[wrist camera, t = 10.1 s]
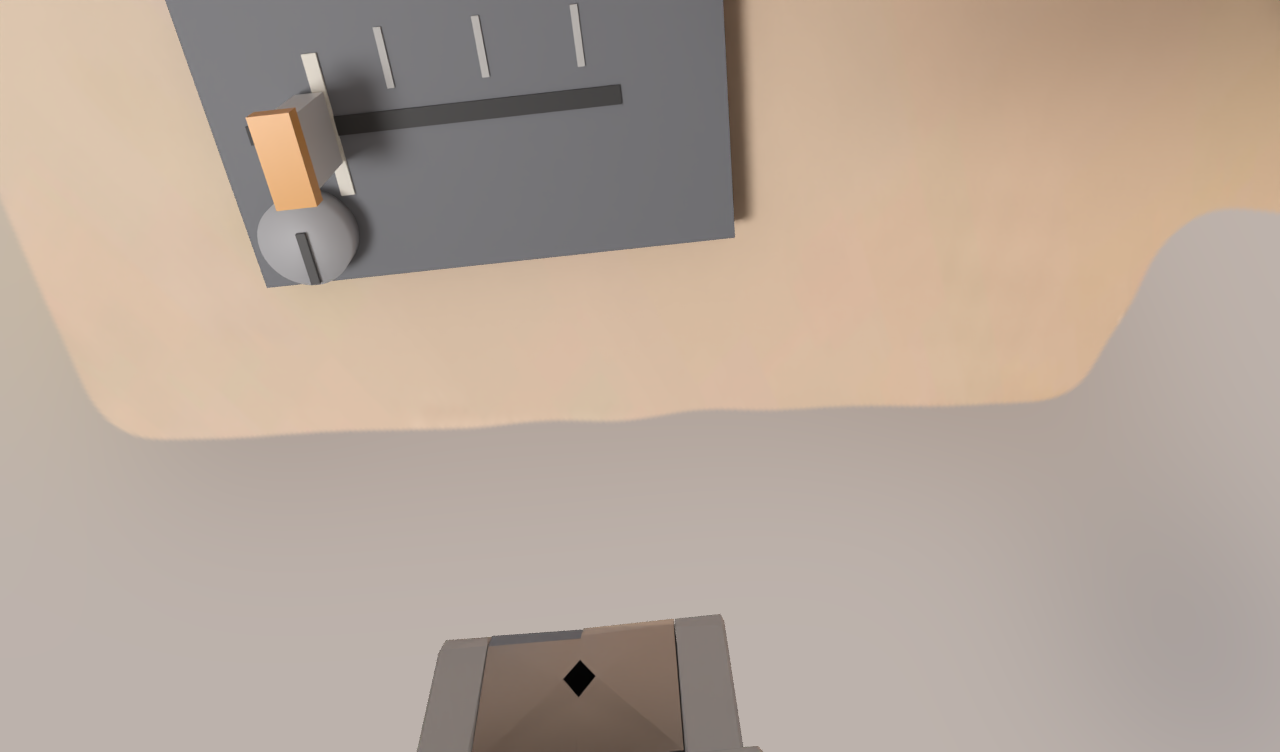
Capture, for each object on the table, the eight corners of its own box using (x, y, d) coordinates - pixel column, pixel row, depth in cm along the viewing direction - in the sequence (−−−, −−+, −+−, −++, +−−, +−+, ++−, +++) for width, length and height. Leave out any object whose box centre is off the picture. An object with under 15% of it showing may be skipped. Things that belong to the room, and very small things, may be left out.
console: (712, -109, 35) (722, -106, 32) (729, 222, 42) (739, 251, 39) (173, -45, 35) (130, -36, 32) (280, 270, 42) (254, 303, 39)
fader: (325, 83, 36) (288, 112, 32) (349, 169, 38) (317, 206, 34) (287, 87, 36) (245, 117, 32) (312, 172, 38) (276, 211, 34)
